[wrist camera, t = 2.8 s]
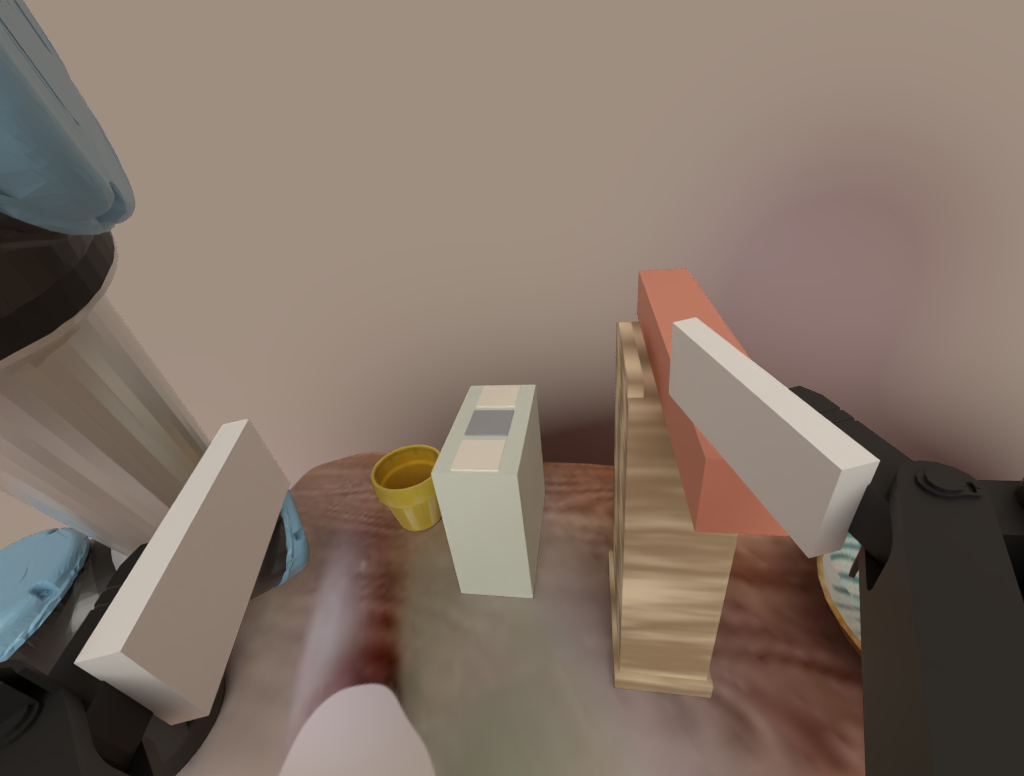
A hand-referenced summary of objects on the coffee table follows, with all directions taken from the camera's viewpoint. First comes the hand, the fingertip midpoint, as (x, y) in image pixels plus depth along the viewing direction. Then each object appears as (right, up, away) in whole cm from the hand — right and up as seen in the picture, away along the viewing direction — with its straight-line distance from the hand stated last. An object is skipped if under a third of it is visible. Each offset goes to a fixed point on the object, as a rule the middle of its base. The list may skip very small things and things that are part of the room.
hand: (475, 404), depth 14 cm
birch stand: (+17, -26, +35) cm, 47 cm away
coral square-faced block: (+13, +1, +16) cm, 20 cm away
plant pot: (-13, -19, +53) cm, 58 cm away
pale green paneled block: (+1, -20, +48) cm, 52 cm away
